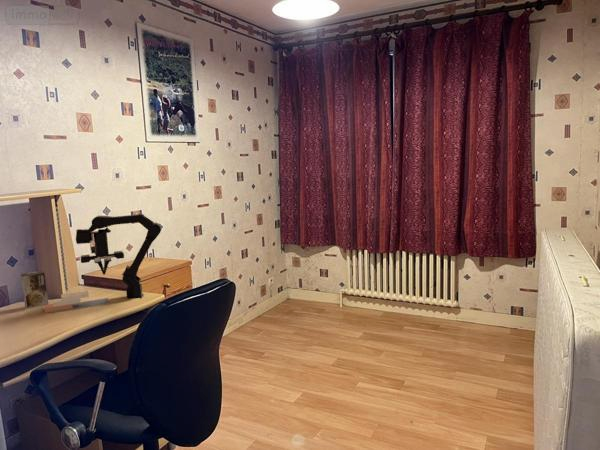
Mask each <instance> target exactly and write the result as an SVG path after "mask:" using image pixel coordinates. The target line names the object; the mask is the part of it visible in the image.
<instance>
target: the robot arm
mask: <svg viewBox="0 0 600 450" xmlns="http://www.w3.org/2000/svg"><path fill="white" fill-rule="evenodd" d="M138 223H139V224H140V225H141V226H142V227H143V228H144V229H146V230H147V232H146V235H145V239H144V240H143V243H142V245H141V246H140V249H139V250H138V252H137V254H136V256H135V257H134V259H133V261H132V263H131V264H130V265H128V264H126V267H125V270H124V271H123V272H122V274H121V275H122V282H123V283H124V284H125V285H127V286H126V289H125V290H126V291H125V292H126V293H125V294H126V298H127V299H128V300H129V299H131V300H133V299H142V298H143V297H144V293H143V284H142V283H141V281H142V278H141V277H139V276H138V275H137V274H138V273H139V270H140V266H141V264H142V263H143V260H144V258H145V256H146V255H147V253H148V251H149V249H150V247H151V245H152V244H153V242H155V240H156V239H157V238H158V237H159V236H160V234H161V233H162V225H161V223H158V222H154V221H153V220H152V219H150V218H148V217H147V216H145V215H144V214H143V213H138V214H130V215H120V216H109V215H97V216H95V217H94V218H92V219H91V225H90V226H89V227H88V228H86V229H85V228H83V229H80V228H79V229H76V230H75V231H76V234H75V242H76V244H77V245H83V244H91V242H93V241H94V246H90V252H91V253H90V254H94V255H90V254H82V255H80V256H79V257H80V259H79V260H80V263H81V264H86V263H90V262H91V261H93V262H94V264H97V265H98V266H99V268H100V270H101V273H102V275H106V274H107V273H106V272H107V268H108V266H109V263H110V262H112V258H116V259H117V260H118V259H119V260H120V259H125V253H124V252H123V251H122V250H117V251H113V253H109V244H108V242H109V241H108V233H109V234H111V232H112V230H111V229H110V228H108V227H111V226H114V225H115V226H116V225H125V224H138ZM96 230H98V231H96ZM102 259H103V262H102Z"/></svg>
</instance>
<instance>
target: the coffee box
mask: <svg viewBox="0 0 600 450" xmlns="http://www.w3.org/2000/svg"><path fill="white" fill-rule="evenodd" d="M45 274H46V273H45V271H43V270H37V271H30V272H26V273H21V274H20V279H21V286H22V292H23V293H22V294H23V300H24V308H25V309H27V310H29V309H34V308H38V307H43V306H44V307H45V305H50V304H49V296H48V289H47V283H46V275H45Z"/></svg>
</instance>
